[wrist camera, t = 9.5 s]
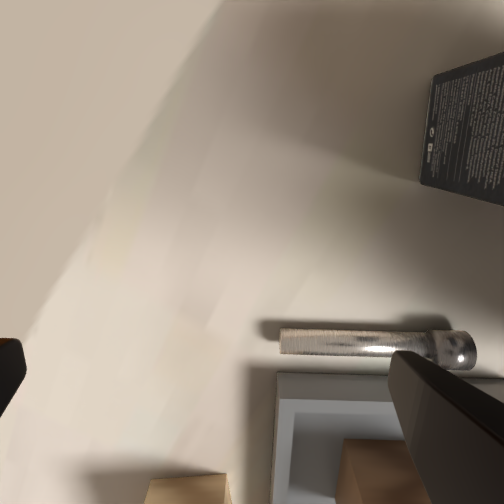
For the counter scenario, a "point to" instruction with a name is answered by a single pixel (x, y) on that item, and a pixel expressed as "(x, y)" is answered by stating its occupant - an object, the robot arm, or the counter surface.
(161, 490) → the block
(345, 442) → the block
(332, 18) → the counter surface
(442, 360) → the rod
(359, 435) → the tray
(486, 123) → the box
